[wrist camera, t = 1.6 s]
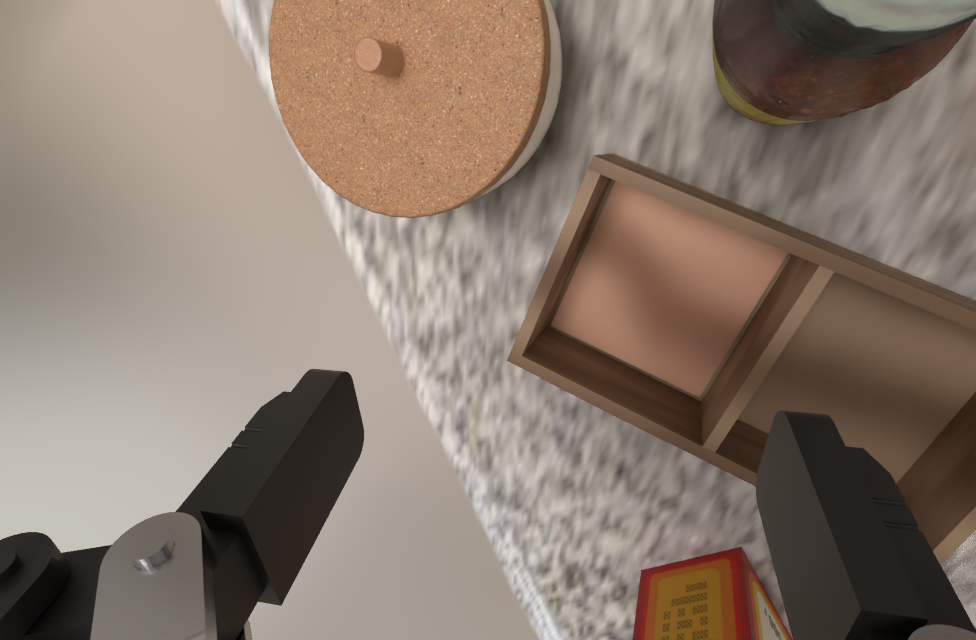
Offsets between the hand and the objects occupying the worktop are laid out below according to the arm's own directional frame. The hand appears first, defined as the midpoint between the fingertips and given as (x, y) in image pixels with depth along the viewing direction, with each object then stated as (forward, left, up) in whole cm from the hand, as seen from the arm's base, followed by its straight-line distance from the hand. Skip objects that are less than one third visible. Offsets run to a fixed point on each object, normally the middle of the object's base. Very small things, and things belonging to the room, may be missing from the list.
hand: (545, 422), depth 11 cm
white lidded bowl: (-4, -12, -22) cm, 25 cm away
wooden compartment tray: (+2, +7, -21) cm, 22 cm away
